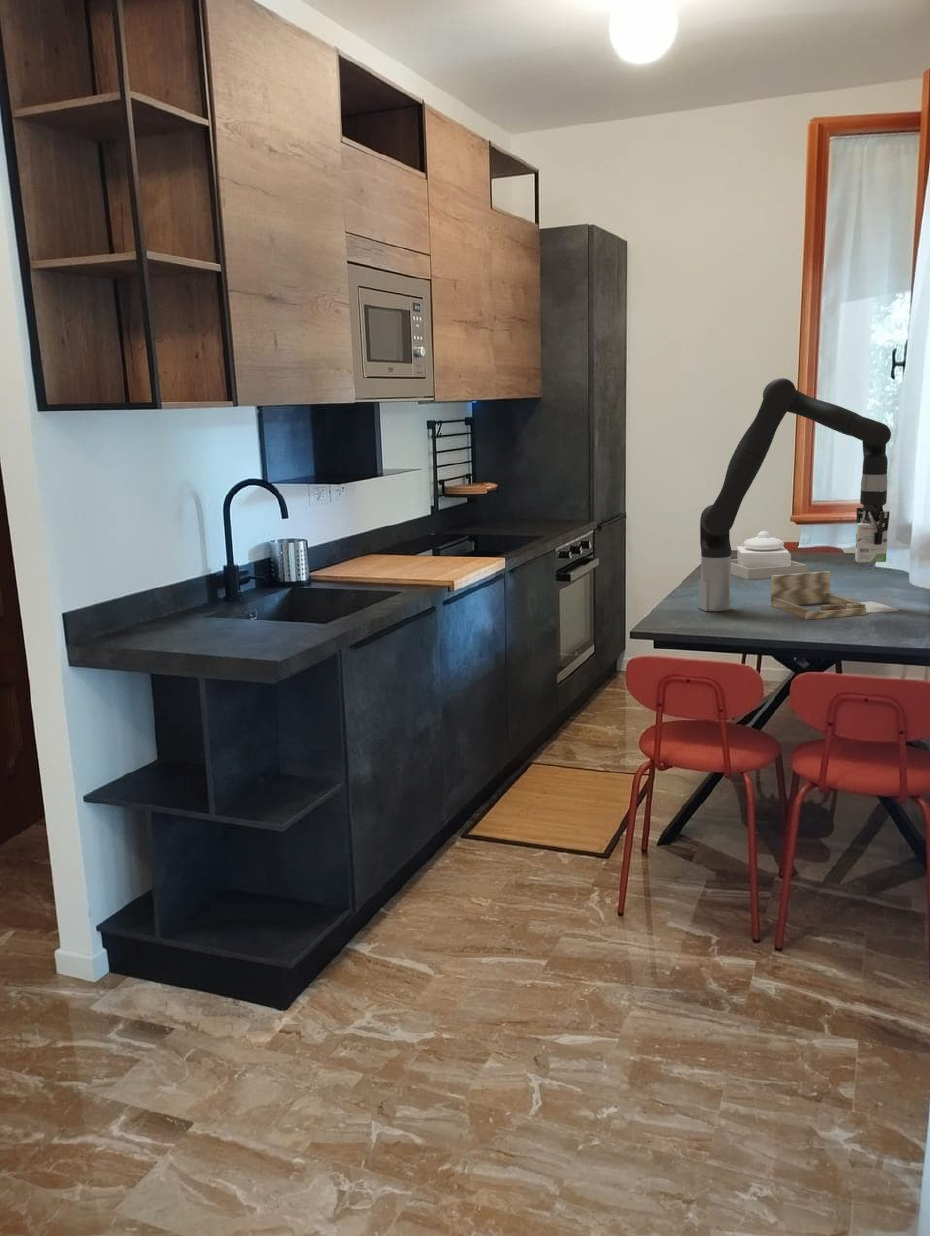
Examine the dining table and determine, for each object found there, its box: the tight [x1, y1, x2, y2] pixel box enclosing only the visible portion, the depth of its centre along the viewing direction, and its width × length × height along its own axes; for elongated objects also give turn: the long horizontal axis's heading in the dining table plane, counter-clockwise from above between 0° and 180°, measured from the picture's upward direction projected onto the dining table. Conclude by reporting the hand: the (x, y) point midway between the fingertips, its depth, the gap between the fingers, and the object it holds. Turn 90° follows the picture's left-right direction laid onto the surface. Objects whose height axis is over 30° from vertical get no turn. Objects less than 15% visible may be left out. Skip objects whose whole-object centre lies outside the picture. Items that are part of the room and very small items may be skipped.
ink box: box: [854, 522, 889, 563], centre depth 310 cm, size 9×5×12 cm, turn 77°
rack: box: [770, 570, 867, 620], centre depth 313 cm, size 20×22×10 cm
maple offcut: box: [846, 603, 859, 609], centre depth 307 cm, size 3×2×3 cm
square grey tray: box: [731, 558, 808, 581], centre depth 383 cm, size 23×23×4 cm
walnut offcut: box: [819, 604, 846, 611], centre depth 306 cm, size 7×2×2 cm, turn 95°
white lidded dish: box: [735, 530, 792, 568], centre depth 381 cm, size 18×18×16 cm
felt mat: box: [858, 600, 900, 615], centre depth 315 cm, size 12×14×1 cm
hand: (871, 542), depth 310 cm, fingers closed on ink box, 6 cm apart
